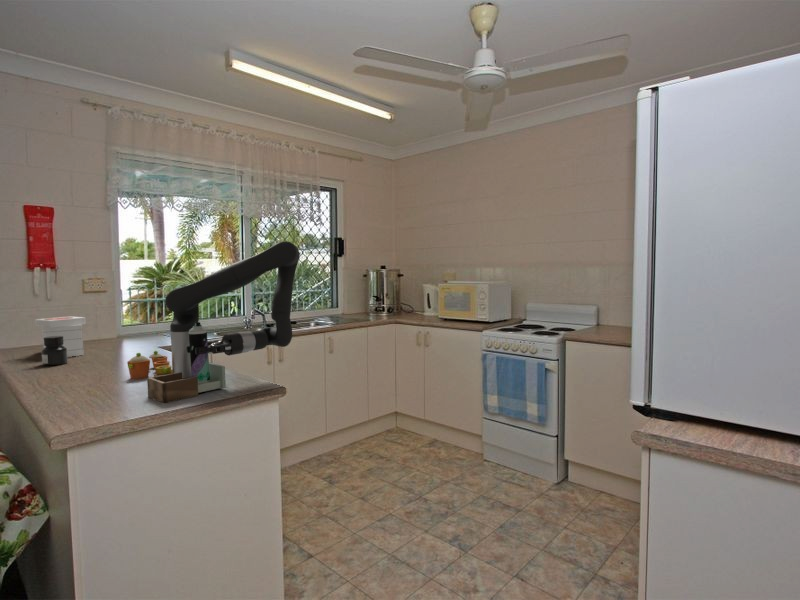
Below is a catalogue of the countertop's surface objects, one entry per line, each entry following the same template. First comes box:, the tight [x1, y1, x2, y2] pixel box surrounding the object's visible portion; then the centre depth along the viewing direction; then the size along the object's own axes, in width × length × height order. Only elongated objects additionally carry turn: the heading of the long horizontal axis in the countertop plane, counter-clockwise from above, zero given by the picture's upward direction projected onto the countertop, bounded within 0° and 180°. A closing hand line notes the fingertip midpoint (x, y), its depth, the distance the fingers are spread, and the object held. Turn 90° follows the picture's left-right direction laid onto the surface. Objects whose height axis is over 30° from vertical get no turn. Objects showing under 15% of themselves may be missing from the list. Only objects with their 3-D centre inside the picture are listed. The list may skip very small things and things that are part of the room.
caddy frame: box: [146, 372, 199, 404], centre depth 146 cm, size 12×10×6 cm
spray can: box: [189, 321, 210, 384], centre depth 152 cm, size 6×6×20 cm
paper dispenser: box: [34, 315, 87, 358], centre depth 226 cm, size 19×30×18 cm, turn 39°
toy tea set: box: [126, 350, 173, 380], centre depth 181 cm, size 26×16×10 cm, turn 30°
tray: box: [198, 362, 227, 394], centre depth 153 cm, size 12×10×7 cm
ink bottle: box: [41, 336, 69, 367], centre depth 201 cm, size 10×9×12 cm
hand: (191, 350), depth 150 cm, fingers closed on spray can, 5 cm apart
